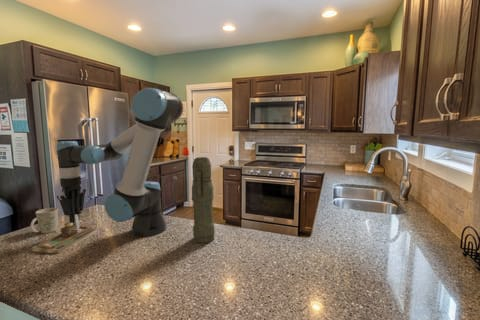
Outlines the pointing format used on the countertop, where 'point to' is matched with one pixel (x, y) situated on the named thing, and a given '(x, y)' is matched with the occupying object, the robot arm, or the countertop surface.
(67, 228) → the slider knob
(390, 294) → the countertop surface
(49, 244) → the tuner board
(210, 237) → the green carved statue
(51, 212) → the mug
